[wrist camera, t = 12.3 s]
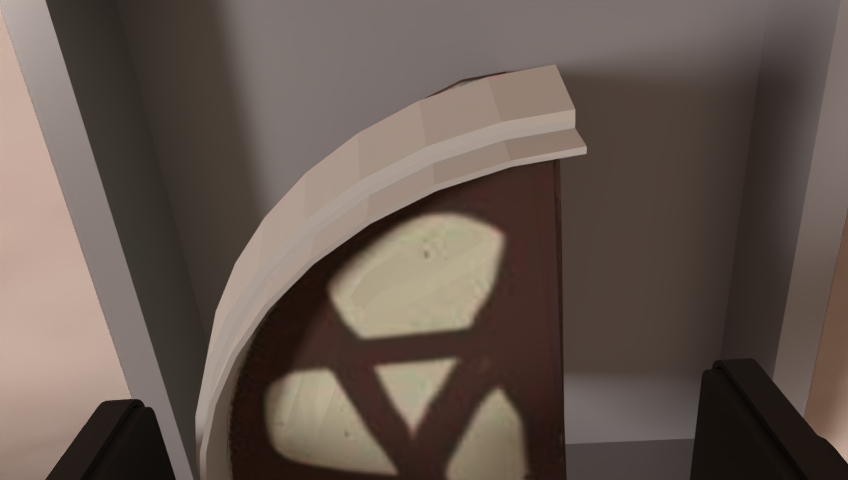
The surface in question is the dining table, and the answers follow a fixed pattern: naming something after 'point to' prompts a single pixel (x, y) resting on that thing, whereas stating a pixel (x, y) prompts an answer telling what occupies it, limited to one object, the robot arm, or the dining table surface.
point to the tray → (419, 78)
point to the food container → (404, 302)
